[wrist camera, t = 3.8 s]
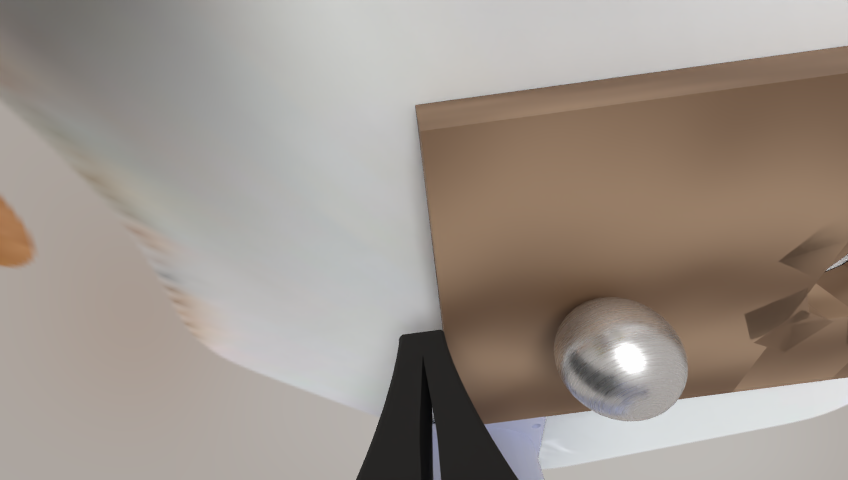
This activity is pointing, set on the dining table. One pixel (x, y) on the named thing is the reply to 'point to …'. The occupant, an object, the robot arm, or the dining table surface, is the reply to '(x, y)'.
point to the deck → (645, 223)
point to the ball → (620, 359)
